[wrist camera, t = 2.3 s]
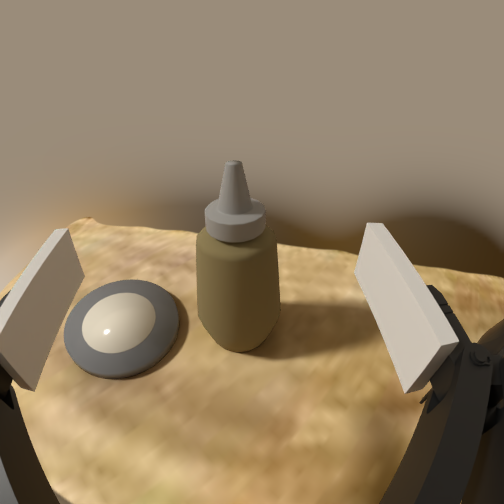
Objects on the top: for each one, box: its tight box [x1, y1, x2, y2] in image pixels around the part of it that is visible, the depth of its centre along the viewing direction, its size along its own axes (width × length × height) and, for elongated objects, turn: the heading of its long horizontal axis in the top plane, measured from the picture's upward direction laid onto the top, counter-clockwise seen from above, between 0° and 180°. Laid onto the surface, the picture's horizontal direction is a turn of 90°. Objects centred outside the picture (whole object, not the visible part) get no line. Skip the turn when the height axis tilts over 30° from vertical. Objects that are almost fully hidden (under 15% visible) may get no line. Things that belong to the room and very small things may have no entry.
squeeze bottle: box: [196, 161, 281, 352], centre depth 26 cm, size 8×8×18 cm
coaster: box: [64, 280, 179, 379], centre depth 31 cm, size 14×14×1 cm
